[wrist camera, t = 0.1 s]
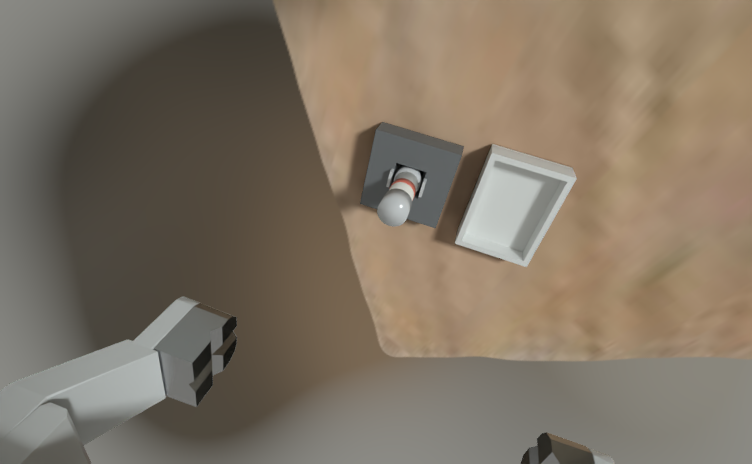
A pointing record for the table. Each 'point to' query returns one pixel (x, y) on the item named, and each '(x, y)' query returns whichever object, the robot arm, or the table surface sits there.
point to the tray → (513, 204)
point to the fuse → (400, 196)
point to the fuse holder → (417, 153)
